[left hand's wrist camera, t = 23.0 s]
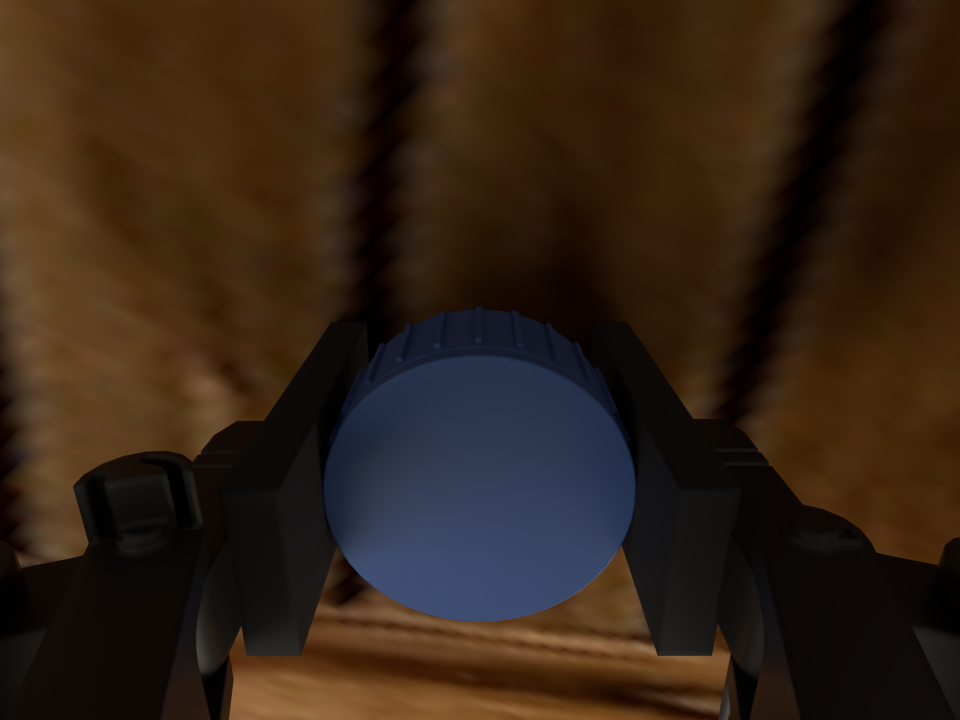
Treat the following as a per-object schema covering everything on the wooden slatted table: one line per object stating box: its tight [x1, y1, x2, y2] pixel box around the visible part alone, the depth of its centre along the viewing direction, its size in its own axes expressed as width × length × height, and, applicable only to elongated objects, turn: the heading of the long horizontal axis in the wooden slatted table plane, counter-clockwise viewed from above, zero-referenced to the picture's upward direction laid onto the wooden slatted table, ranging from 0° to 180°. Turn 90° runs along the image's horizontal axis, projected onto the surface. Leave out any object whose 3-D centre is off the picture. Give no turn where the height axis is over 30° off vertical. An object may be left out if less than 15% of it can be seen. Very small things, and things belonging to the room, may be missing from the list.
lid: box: [323, 306, 636, 622], centre depth 11 cm, size 5×5×2 cm
